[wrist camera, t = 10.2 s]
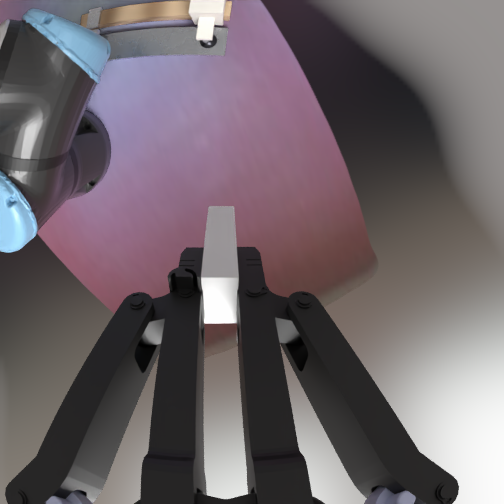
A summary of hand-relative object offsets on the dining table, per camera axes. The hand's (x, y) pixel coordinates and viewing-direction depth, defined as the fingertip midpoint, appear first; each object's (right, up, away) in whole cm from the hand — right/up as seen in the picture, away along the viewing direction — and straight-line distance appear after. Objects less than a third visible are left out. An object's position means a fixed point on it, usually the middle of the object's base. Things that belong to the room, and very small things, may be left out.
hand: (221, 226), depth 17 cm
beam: (-12, +33, +10) cm, 36 cm away
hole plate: (-13, +29, +12) cm, 34 cm away
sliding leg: (-4, +31, +11) cm, 33 cm away
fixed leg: (-21, +31, +8) cm, 38 cm away
